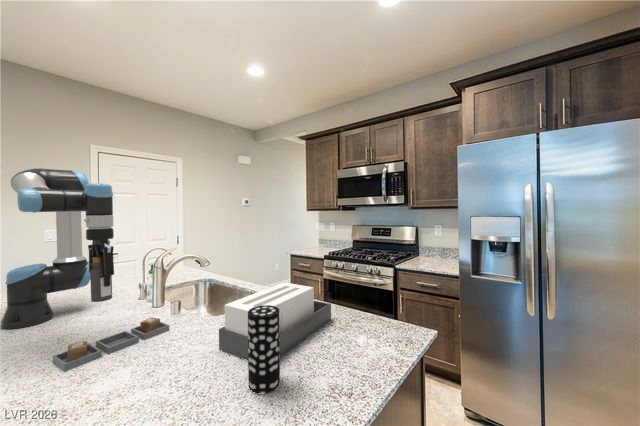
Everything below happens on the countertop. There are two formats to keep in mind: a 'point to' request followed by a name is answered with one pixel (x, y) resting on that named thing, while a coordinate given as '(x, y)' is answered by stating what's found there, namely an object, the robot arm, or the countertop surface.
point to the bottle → (97, 282)
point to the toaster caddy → (288, 338)
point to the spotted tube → (263, 349)
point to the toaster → (285, 296)
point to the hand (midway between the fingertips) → (101, 294)
